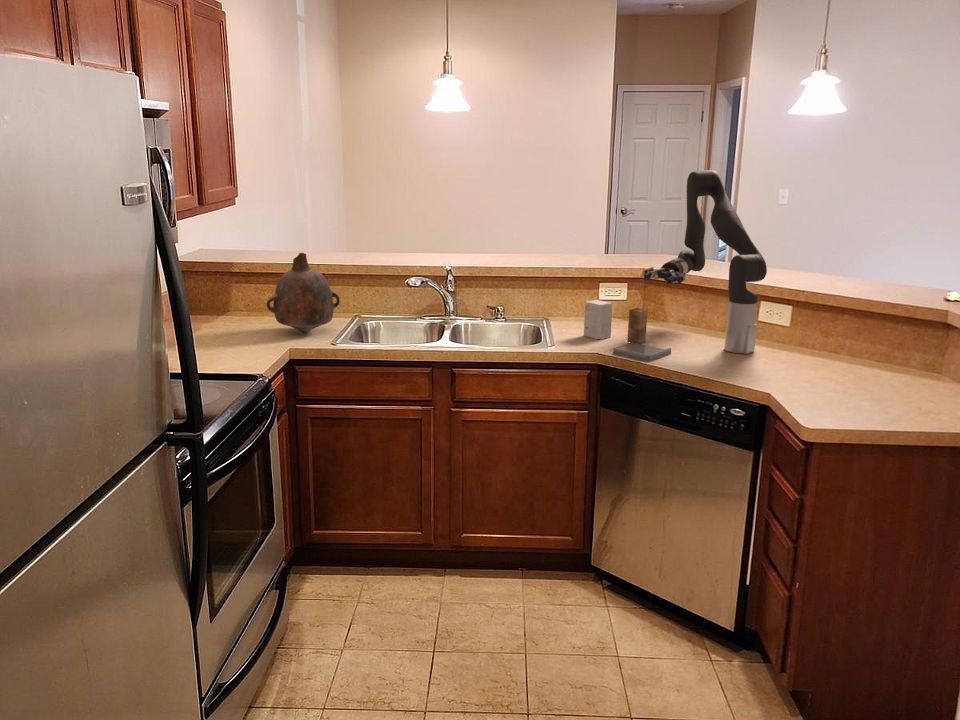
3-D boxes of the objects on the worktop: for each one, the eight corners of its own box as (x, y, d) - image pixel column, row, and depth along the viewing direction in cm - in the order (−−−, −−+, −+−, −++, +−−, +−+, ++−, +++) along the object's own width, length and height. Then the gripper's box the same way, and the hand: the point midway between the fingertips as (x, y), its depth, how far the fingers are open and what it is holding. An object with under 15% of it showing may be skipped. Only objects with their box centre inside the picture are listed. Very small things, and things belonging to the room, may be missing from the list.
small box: (611, 337, 289) (613, 302, 286) (599, 340, 285) (601, 305, 282) (594, 333, 295) (596, 299, 292) (583, 335, 291) (584, 301, 288)
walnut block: (645, 342, 283) (647, 309, 279) (638, 344, 279) (640, 311, 276) (634, 340, 286) (636, 308, 282) (627, 342, 282) (629, 309, 279)
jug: (310, 322, 307) (307, 245, 299) (349, 330, 295) (346, 250, 287) (259, 334, 288) (254, 252, 280) (298, 343, 276) (293, 258, 268)
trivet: (670, 353, 268) (671, 348, 267) (648, 361, 258) (649, 355, 257) (635, 346, 277) (636, 340, 277) (613, 353, 267) (613, 347, 267)
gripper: (657, 257, 296) (639, 266, 284) (693, 262, 289) (676, 272, 276) (655, 276, 299) (637, 286, 287) (691, 282, 291) (674, 293, 279)
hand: (656, 279), depth 281 cm, fingers open, 8 cm apart
